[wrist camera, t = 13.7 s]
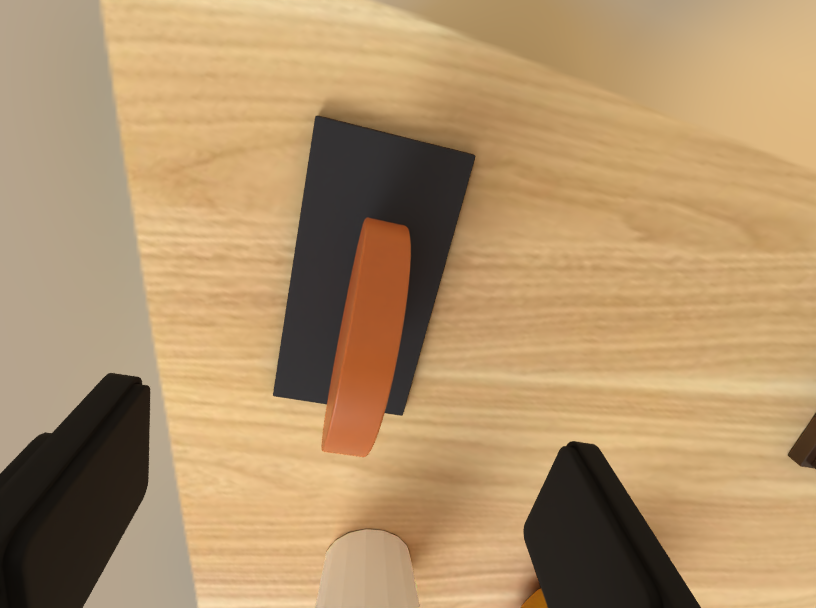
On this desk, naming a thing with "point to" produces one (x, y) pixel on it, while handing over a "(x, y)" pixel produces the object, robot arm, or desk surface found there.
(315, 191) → the mat
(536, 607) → the fruit
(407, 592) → the shot glass
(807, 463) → the rack
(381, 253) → the disc
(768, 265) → the desk surface
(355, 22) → the desk surface
